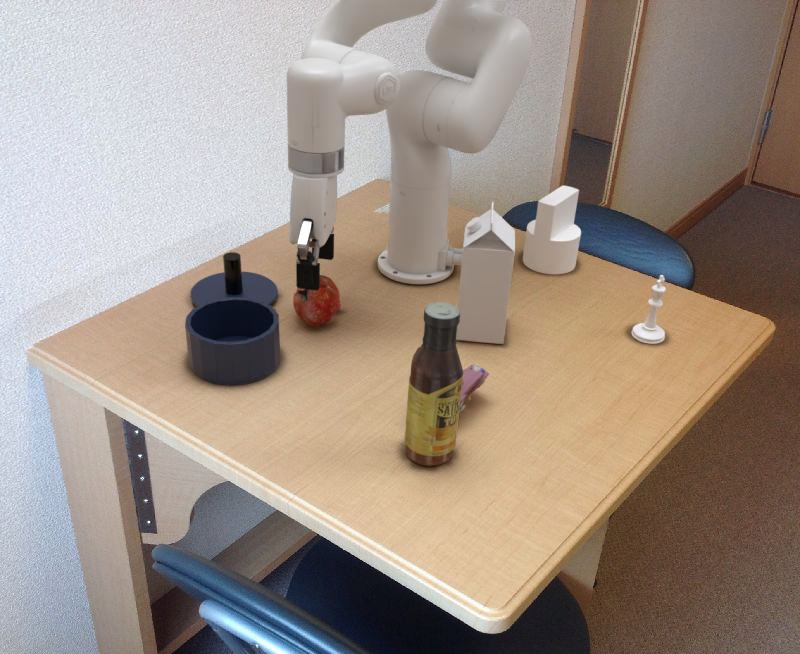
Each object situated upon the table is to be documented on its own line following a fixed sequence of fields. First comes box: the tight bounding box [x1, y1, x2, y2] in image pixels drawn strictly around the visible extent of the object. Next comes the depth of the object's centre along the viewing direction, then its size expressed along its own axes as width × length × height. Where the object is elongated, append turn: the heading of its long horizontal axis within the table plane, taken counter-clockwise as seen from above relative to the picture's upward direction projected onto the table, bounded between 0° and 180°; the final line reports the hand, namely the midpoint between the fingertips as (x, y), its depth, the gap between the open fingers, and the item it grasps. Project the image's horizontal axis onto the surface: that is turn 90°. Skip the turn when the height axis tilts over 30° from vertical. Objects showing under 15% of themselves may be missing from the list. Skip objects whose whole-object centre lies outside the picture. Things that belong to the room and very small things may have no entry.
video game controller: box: [459, 363, 490, 413], centre depth 119 cm, size 10×5×7 cm, turn 148°
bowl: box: [184, 297, 281, 386], centre depth 126 cm, size 12×13×6 cm
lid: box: [190, 251, 279, 307], centre depth 140 cm, size 13×13×7 cm
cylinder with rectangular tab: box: [522, 184, 582, 275], centre depth 153 cm, size 9×9×12 cm
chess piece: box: [631, 274, 667, 345], centre depth 135 cm, size 5×5×10 cm
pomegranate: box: [292, 274, 342, 328], centre depth 136 cm, size 7×7×10 cm
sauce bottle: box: [404, 301, 464, 467], centre depth 107 cm, size 6×6×20 cm
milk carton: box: [456, 201, 516, 345], centre depth 131 cm, size 7×7×19 cm
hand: (315, 272), depth 132 cm, fingers open, 9 cm apart
